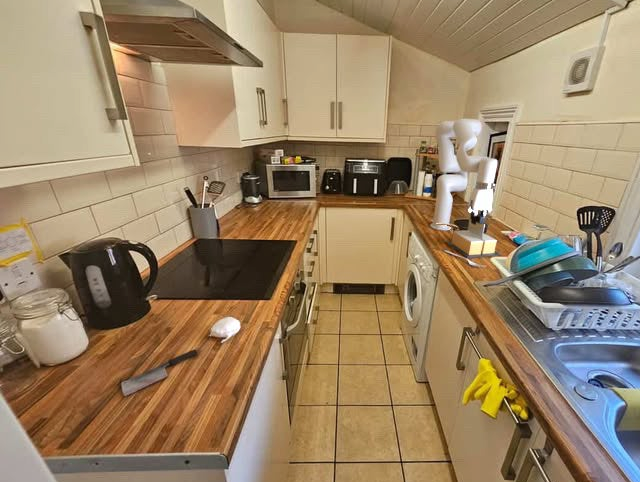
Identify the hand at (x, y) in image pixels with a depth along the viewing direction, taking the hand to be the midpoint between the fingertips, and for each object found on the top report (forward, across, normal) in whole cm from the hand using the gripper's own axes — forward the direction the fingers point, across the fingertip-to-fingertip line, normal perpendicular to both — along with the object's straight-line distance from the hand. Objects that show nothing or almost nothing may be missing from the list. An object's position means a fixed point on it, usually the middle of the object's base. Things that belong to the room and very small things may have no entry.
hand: (476, 223), depth 147 cm
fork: (+14, +12, +11) cm, 21 cm away
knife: (+6, 0, 0) cm, 6 cm away
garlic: (+14, +110, +45) cm, 120 cm away
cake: (+14, 0, 0) cm, 14 cm away
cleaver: (+14, +122, +58) cm, 136 cm away
